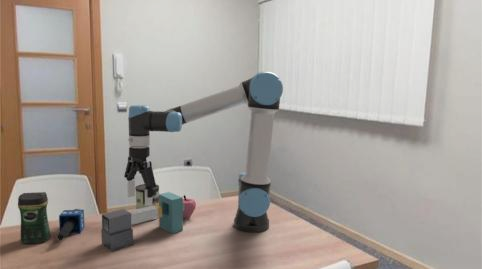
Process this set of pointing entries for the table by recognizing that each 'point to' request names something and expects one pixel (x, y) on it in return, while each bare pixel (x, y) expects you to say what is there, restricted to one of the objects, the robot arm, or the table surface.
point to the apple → (188, 207)
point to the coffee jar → (33, 217)
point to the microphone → (70, 222)
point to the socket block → (171, 212)
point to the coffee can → (141, 196)
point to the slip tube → (140, 215)
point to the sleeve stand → (117, 230)
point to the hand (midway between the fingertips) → (139, 200)
